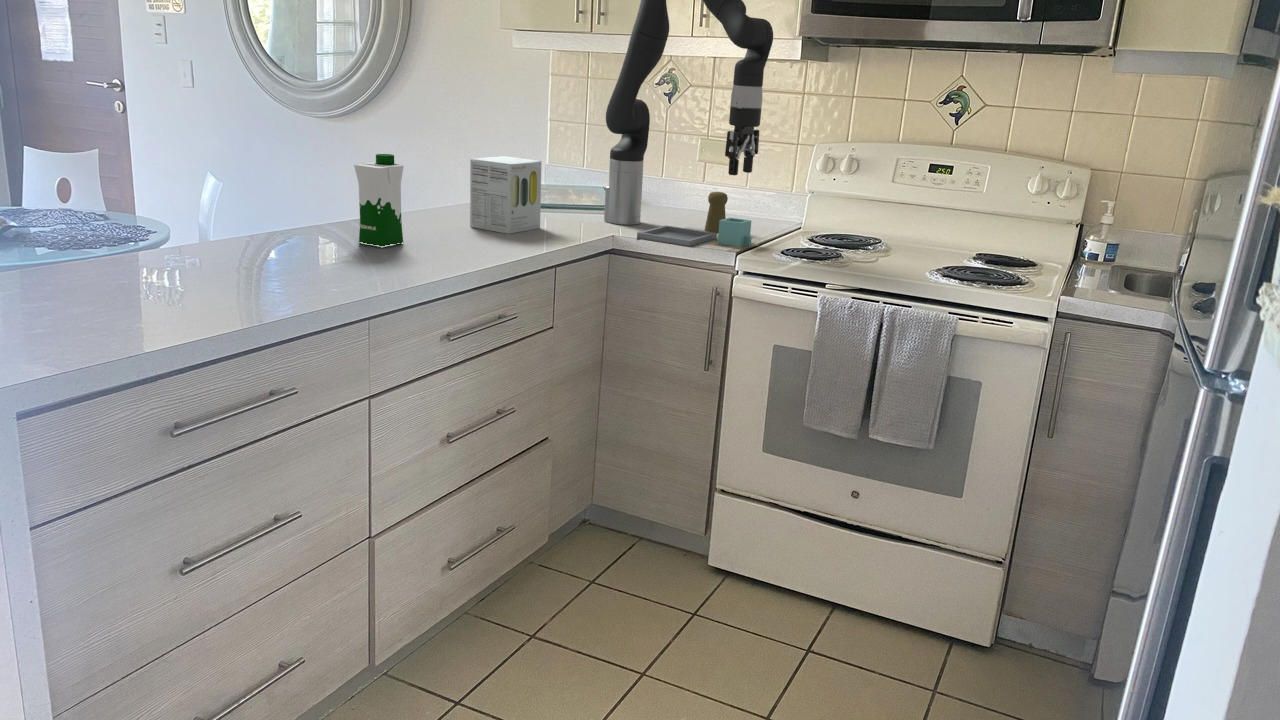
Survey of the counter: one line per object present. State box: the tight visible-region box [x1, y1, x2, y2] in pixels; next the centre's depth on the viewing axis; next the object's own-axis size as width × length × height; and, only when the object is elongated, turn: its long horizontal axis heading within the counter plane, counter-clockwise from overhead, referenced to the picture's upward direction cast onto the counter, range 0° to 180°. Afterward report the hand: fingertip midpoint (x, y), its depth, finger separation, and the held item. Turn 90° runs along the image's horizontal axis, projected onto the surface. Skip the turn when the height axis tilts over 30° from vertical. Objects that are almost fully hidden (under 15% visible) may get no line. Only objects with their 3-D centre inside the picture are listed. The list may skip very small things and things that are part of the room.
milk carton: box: [353, 153, 404, 246], centre depth 212 cm, size 9×9×20 cm
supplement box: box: [469, 155, 542, 235], centre depth 241 cm, size 13×13×18 cm
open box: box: [717, 217, 753, 247], centre depth 234 cm, size 8×6×6 cm
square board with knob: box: [707, 240, 760, 251], centre depth 235 cm, size 10×10×6 cm
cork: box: [704, 191, 729, 234], centre depth 251 cm, size 6×6×11 cm
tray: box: [636, 225, 718, 248], centre depth 239 cm, size 15×15×2 cm
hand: (740, 173), depth 230 cm, fingers open, 8 cm apart
